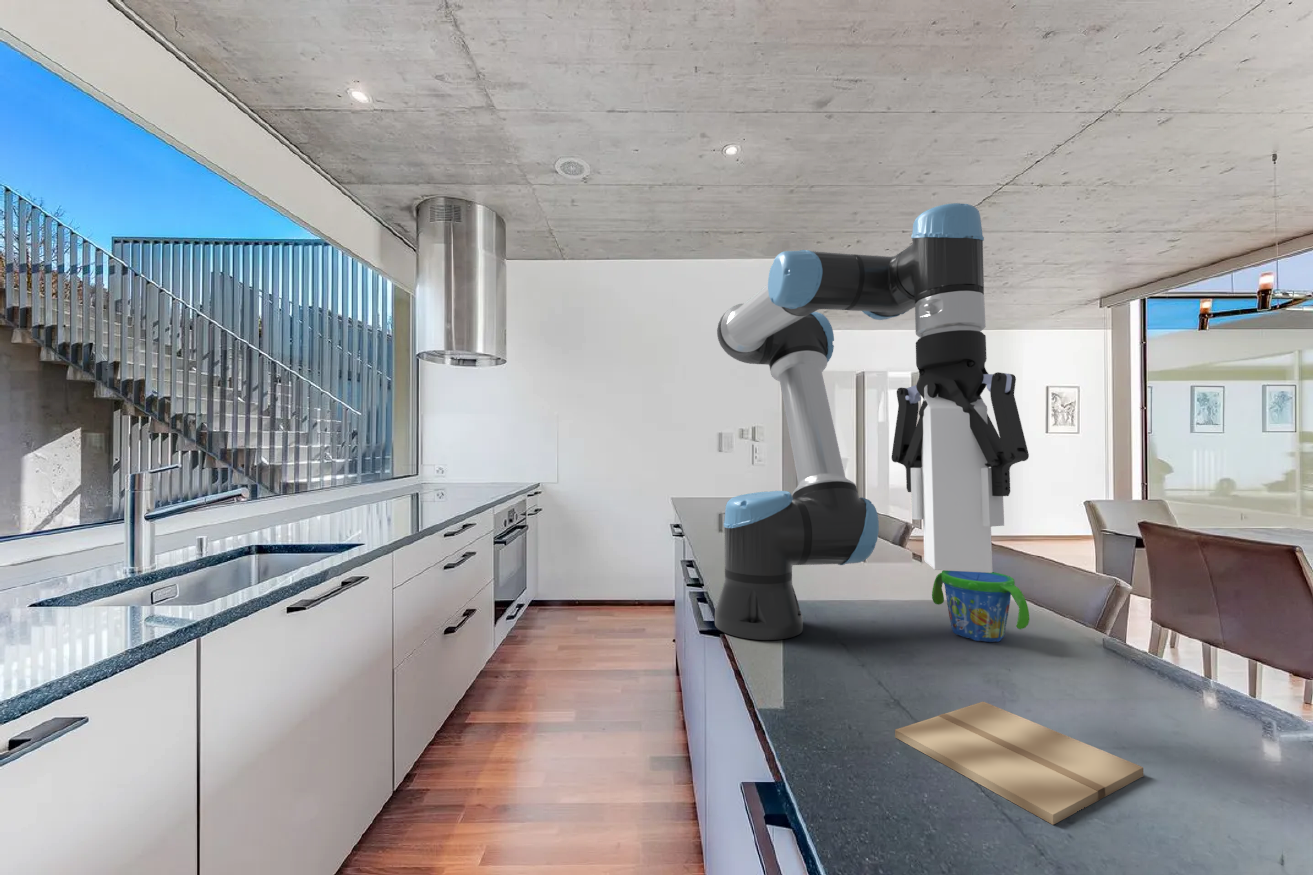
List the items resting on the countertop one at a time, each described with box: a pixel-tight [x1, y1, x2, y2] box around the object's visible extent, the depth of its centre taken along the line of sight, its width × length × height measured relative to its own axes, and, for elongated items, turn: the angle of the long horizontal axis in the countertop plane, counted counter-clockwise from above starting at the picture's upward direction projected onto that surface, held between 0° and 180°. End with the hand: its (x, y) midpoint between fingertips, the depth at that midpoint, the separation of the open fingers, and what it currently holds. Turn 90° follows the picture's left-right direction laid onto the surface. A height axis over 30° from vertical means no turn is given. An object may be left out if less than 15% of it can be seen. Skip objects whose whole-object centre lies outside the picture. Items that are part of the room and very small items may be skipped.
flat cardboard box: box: [894, 701, 1144, 826], centre depth 53 cm, size 15×15×1 cm
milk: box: [921, 385, 993, 573], centre depth 64 cm, size 6×6×22 cm
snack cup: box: [931, 570, 1030, 643], centre depth 89 cm, size 16×10×10 cm
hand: (955, 522), depth 64 cm, fingers closed on milk, 8 cm apart
